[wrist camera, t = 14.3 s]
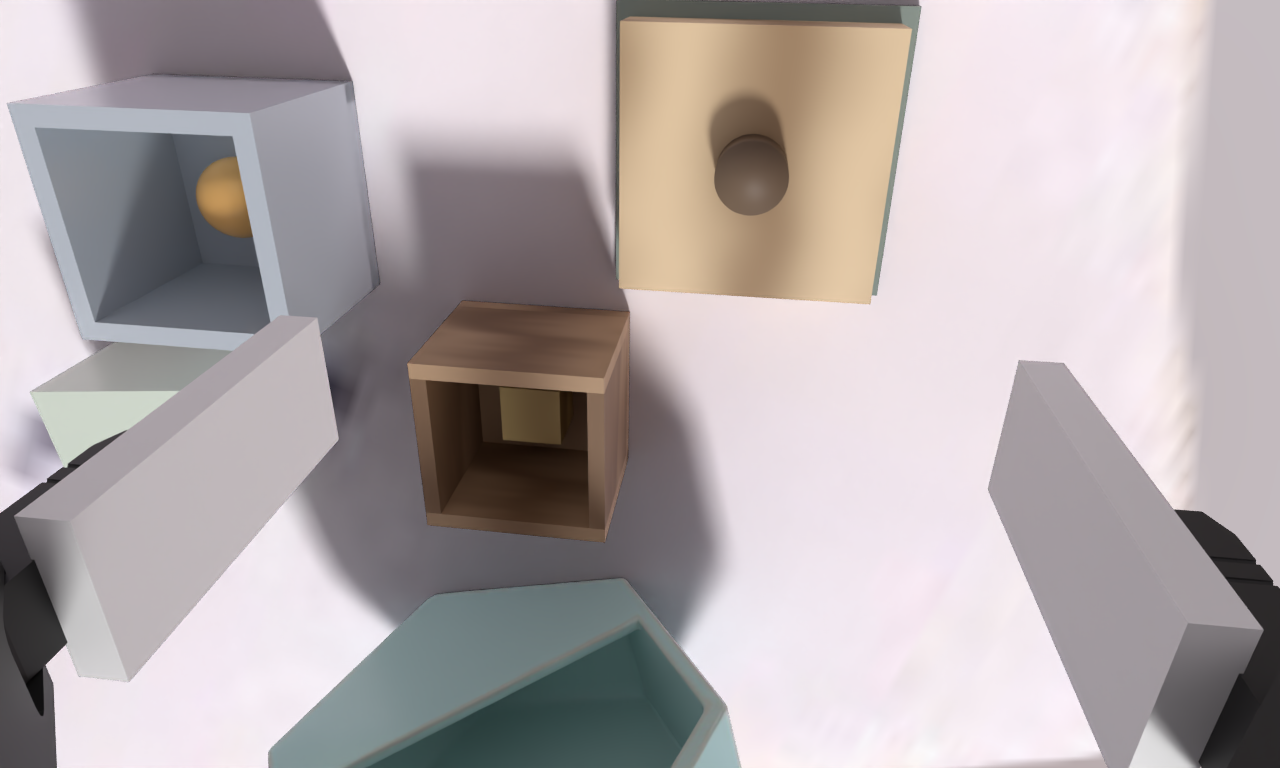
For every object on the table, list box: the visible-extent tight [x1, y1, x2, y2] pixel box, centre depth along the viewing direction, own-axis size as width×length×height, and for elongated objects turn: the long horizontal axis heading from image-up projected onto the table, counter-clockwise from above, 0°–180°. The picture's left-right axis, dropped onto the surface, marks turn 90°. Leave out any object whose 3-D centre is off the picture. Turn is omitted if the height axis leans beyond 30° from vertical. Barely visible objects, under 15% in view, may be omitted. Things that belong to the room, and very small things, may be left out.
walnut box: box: [407, 301, 630, 543], centre depth 33 cm, size 7×7×6 cm
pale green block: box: [30, 342, 232, 468], centre depth 37 cm, size 7×5×5 cm
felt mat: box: [616, 0, 921, 295], centre depth 30 cm, size 10×10×1 cm
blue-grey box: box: [7, 74, 380, 351], centre depth 30 cm, size 8×8×7 cm
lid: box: [619, 16, 912, 304], centre depth 29 cm, size 9×9×3 cm
